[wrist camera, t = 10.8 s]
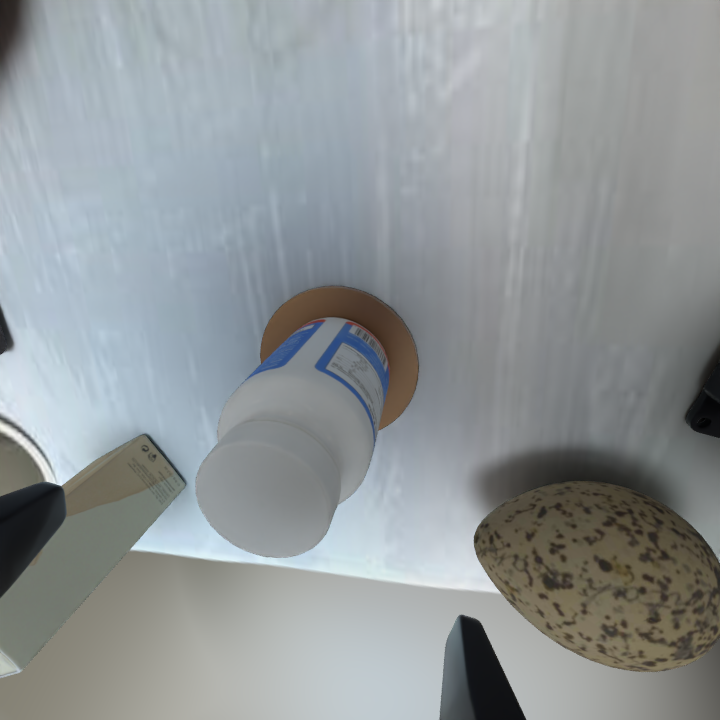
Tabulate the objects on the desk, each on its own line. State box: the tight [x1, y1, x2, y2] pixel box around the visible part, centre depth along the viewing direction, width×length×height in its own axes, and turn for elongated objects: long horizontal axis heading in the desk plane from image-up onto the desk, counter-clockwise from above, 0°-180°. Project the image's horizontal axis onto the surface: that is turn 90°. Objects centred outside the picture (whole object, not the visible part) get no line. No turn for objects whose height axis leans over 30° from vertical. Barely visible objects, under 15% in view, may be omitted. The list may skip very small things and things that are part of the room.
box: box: [0, 435, 186, 678], centre depth 21 cm, size 5×4×11 cm
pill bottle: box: [195, 317, 390, 558], centre depth 16 cm, size 6×5×10 cm
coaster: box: [260, 286, 419, 431], centre depth 20 cm, size 8×8×1 cm
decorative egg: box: [474, 481, 720, 672], centre depth 18 cm, size 7×7×10 cm
